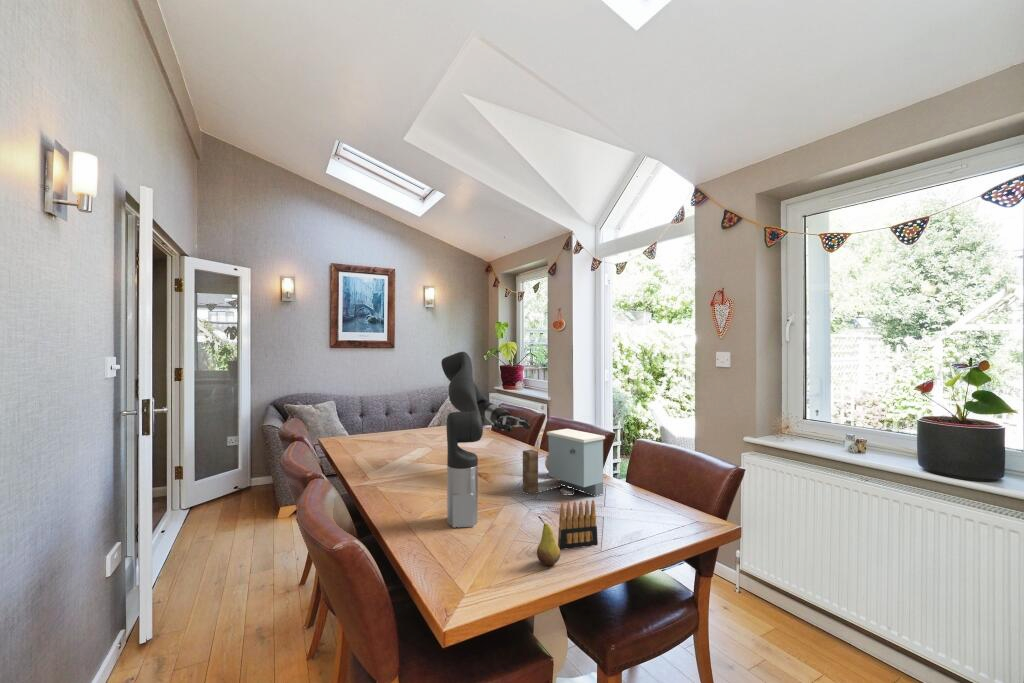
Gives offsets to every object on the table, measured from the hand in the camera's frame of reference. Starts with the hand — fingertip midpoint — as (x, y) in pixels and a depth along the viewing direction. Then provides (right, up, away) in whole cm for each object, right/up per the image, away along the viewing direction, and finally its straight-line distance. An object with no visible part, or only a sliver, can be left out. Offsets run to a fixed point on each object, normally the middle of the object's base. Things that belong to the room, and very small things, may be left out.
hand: (520, 428), depth 176 cm
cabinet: (+20, -22, -7) cm, 30 cm away
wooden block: (+8, -22, -5) cm, 24 cm away
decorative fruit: (+15, -22, +13) cm, 30 cm away
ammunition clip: (+14, -21, -53) cm, 59 cm away
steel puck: (+17, -22, -9) cm, 29 cm away
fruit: (+6, -21, -63) cm, 67 cm away
